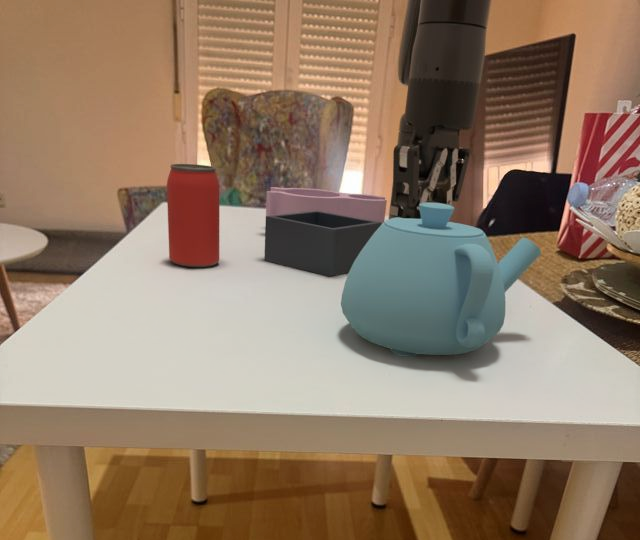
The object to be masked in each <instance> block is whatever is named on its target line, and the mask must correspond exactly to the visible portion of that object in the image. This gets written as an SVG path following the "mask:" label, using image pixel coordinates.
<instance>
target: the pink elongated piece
mask: <svg viewBox="0 0 640 540" xmlns="http://www.w3.org/2000/svg"><path fill="white" fill-rule="evenodd" d="M387 202H388V201H387V199H386V197H385V196H380V195H374V194H363V193H348V192H340V191H333V190H327V189H319V188H305V187H277V186H276V187H275V186H270V190H268V191H266V202H265V203H266V204H265V217H266V216H272V215H281V214H290V213H300V212H309V211H321V212H327V213H332V214H338V215H343V216H349V217H354V218H360V219H365V220H371V221H376V222H381V223H384V222H385V221H386V220H385V219H386V210H387V204H388V203H387Z"/></svg>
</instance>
